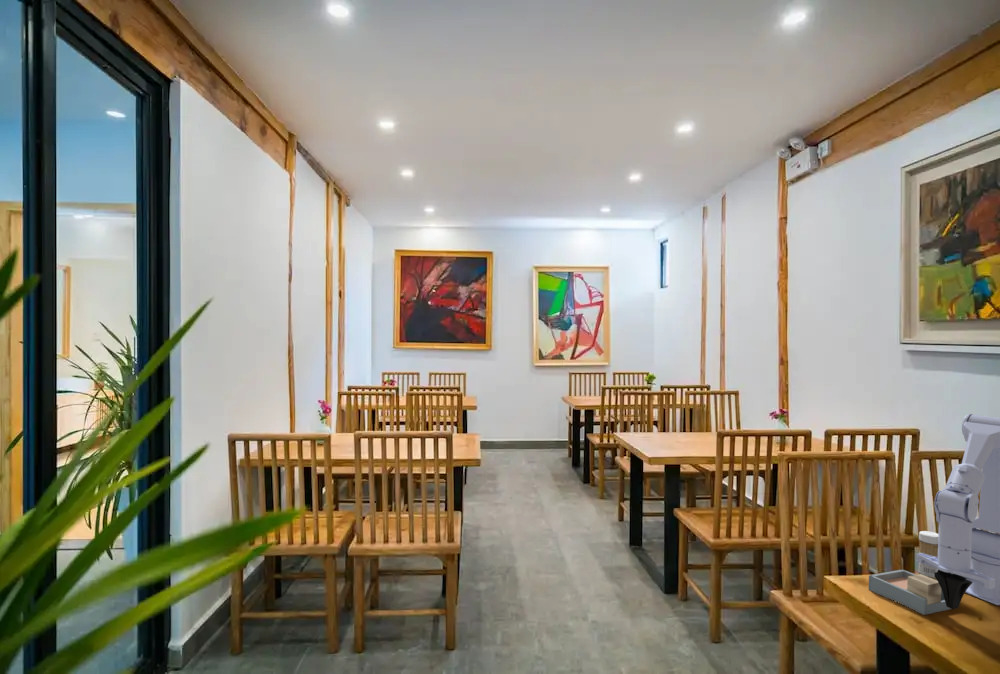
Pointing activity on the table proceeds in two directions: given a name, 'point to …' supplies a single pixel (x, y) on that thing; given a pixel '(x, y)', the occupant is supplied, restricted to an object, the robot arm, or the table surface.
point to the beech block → (925, 588)
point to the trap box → (903, 591)
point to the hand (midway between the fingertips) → (952, 607)
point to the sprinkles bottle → (928, 551)
